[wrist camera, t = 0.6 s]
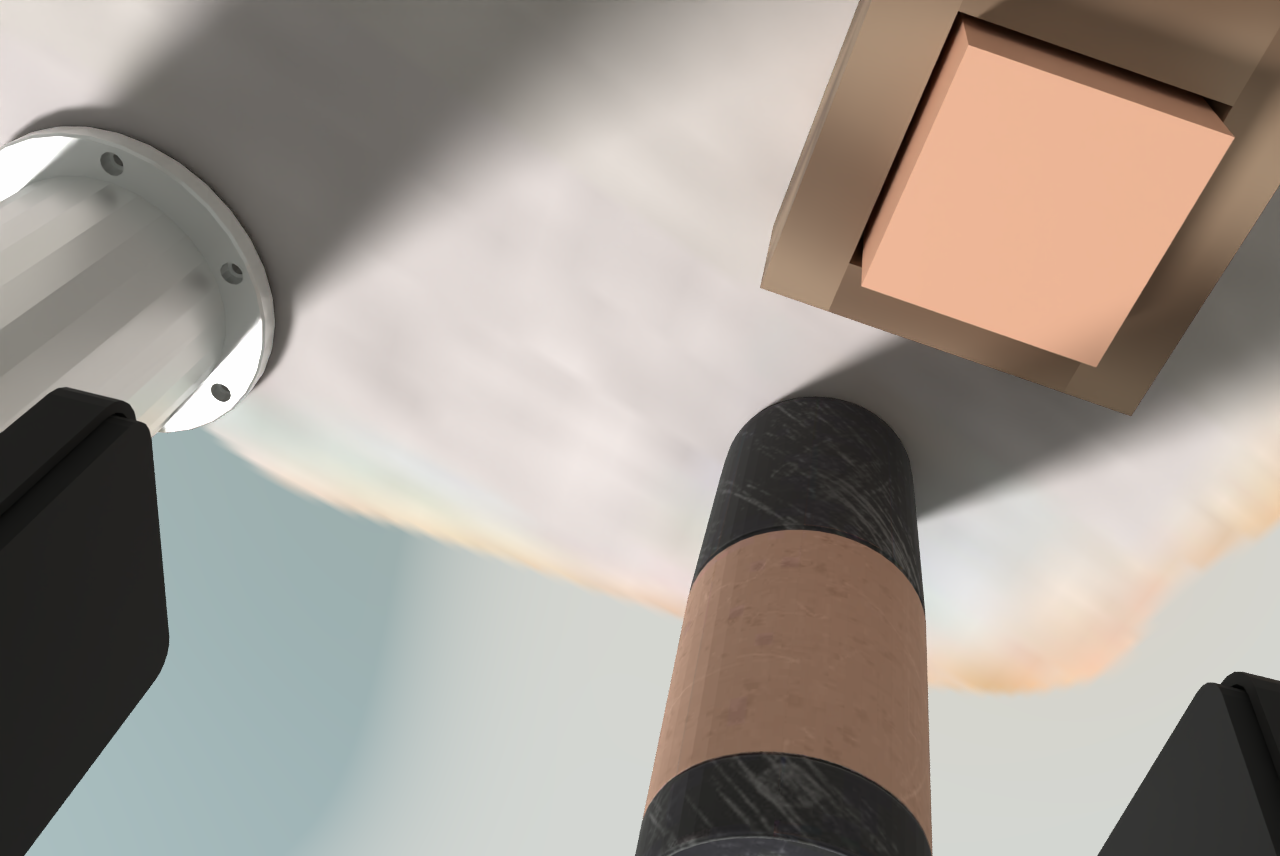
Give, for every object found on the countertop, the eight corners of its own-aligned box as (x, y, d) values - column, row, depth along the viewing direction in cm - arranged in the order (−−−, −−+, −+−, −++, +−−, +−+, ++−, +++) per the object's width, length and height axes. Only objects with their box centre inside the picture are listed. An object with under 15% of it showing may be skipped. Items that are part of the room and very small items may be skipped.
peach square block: (1072, 291, 37) (1096, 367, 33) (864, 219, 37) (861, 286, 33) (1190, 82, 33) (1235, 137, 29) (958, 1, 33) (968, 44, 29)
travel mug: (685, 425, 44) (564, 861, 28) (875, 361, 42) (868, 804, 25) (766, 574, 47) (701, 1046, 31) (948, 523, 45) (985, 1015, 28)
